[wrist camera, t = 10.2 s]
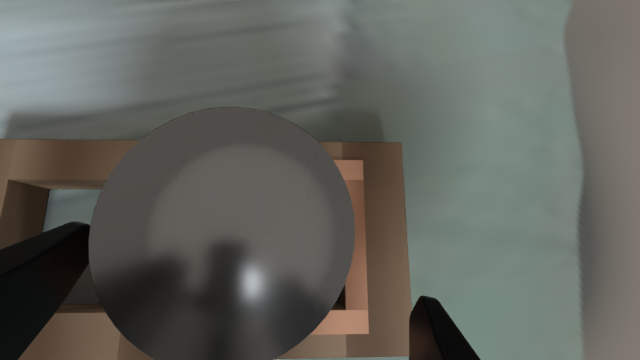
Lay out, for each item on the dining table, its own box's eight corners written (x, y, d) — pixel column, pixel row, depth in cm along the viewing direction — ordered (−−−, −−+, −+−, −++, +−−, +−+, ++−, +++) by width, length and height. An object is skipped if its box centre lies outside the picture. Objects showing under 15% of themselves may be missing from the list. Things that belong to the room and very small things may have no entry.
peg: (332, 260, 18) (403, 283, 5) (266, 297, 17) (149, 434, 4) (298, 196, 18) (282, 69, 6) (233, 230, 18) (51, 174, 5)
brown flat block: (389, 156, 19) (402, 141, 16) (398, 340, 17) (416, 357, 14) (-1, 153, 18) (-54, 137, 15) (-43, 348, 16) (-113, 368, 13)
